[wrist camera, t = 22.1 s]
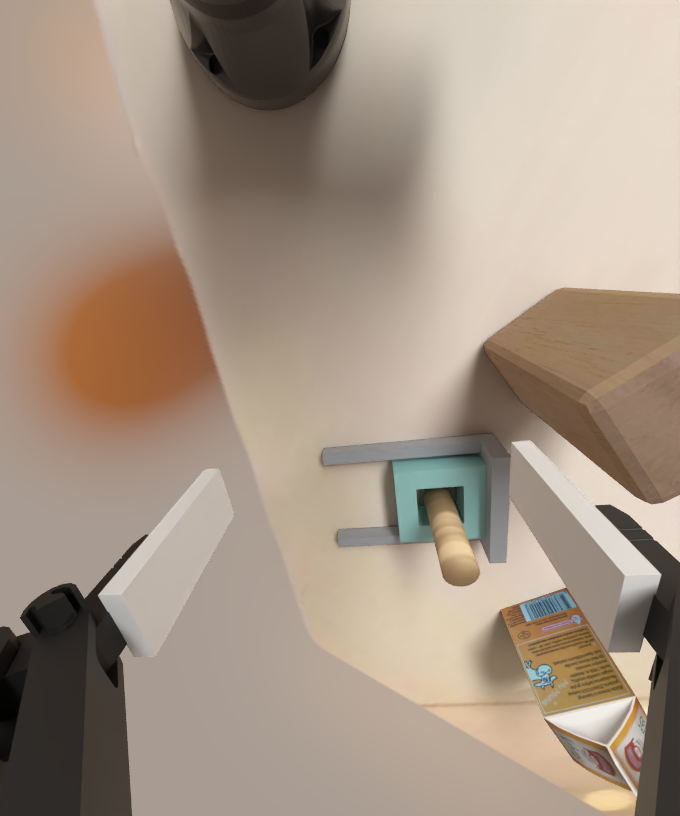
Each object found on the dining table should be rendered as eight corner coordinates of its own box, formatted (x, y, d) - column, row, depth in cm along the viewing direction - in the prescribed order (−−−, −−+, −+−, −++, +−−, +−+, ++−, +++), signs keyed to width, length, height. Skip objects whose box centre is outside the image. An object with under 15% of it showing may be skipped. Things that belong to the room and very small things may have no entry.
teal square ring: (391, 457, 44) (393, 473, 41) (476, 449, 43) (486, 466, 39) (398, 521, 48) (400, 542, 45) (475, 517, 47) (484, 538, 43)
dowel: (421, 479, 45) (442, 560, 32) (447, 477, 45) (480, 558, 32) (422, 500, 47) (443, 586, 34) (448, 499, 46) (479, 585, 33)
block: (522, 405, 40) (652, 515, 22) (477, 343, 38) (580, 406, 19) (603, 354, 37) (834, 430, 19) (559, 283, 35) (774, 290, 16)
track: (323, 448, 45) (317, 472, 39) (492, 433, 42) (511, 457, 36) (340, 537, 50) (336, 569, 45) (490, 529, 47) (506, 562, 42)
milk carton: (590, 629, 53) (699, 803, 36) (526, 648, 56) (598, 818, 38) (566, 587, 50) (672, 754, 33) (500, 609, 53) (565, 773, 36)
